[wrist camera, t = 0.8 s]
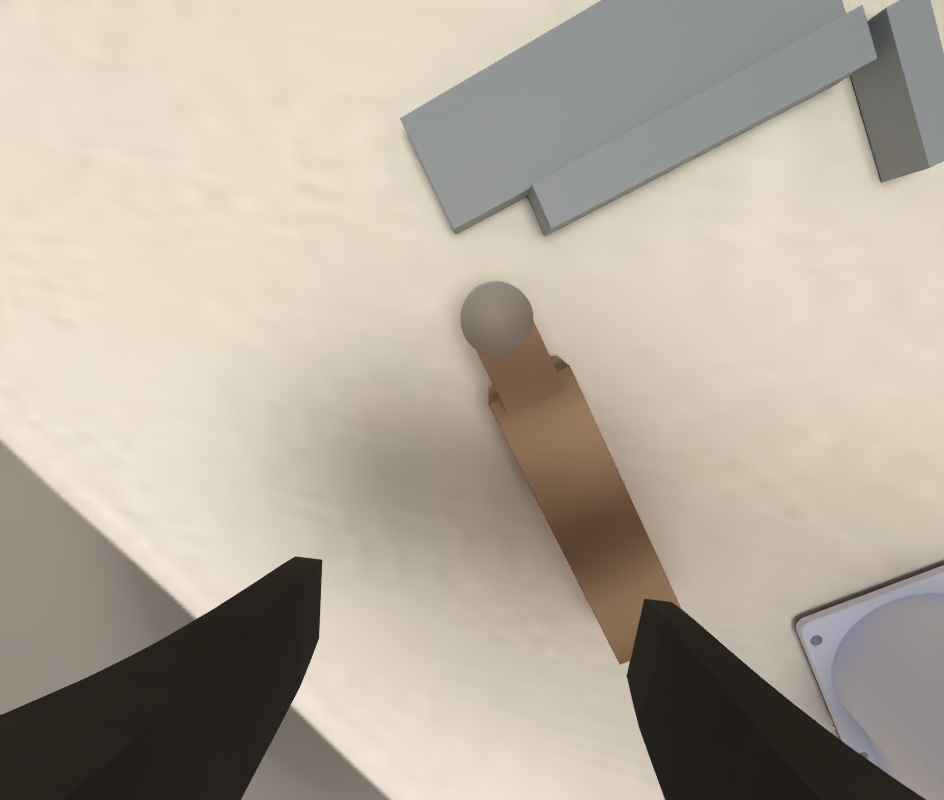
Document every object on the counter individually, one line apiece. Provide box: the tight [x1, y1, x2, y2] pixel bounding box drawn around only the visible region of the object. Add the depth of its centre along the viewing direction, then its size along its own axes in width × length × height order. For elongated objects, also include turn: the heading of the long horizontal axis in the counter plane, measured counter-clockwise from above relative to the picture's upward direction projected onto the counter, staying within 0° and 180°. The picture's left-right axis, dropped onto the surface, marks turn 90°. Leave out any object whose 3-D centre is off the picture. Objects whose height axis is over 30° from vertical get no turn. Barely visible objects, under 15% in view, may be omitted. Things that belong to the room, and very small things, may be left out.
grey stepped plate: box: [400, 0, 944, 313], centre depth 15 cm, size 9×17×2 cm, turn 117°
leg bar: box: [461, 283, 681, 664], centre depth 17 cm, size 15×3×4 cm, turn 27°
